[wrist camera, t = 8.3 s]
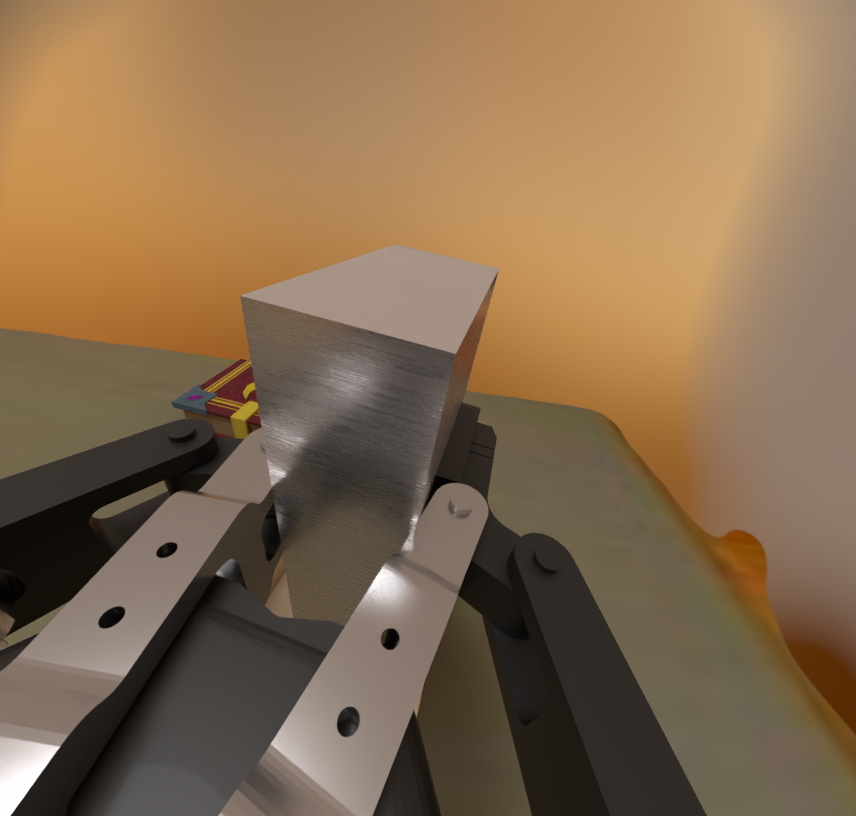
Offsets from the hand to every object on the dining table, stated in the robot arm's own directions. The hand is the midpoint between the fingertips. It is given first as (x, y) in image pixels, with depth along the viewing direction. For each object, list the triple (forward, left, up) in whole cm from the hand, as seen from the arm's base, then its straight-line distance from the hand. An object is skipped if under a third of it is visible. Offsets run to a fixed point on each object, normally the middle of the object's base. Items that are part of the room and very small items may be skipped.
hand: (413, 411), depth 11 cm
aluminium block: (0, -2, -8) cm, 8 cm away
